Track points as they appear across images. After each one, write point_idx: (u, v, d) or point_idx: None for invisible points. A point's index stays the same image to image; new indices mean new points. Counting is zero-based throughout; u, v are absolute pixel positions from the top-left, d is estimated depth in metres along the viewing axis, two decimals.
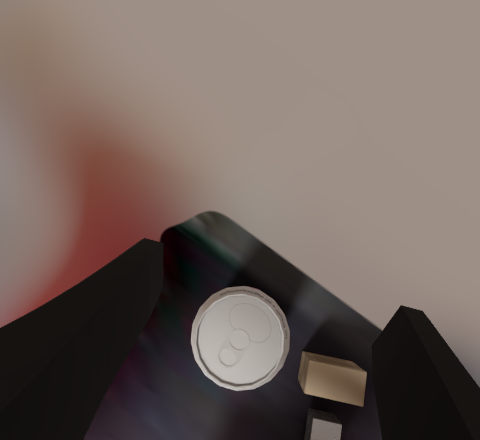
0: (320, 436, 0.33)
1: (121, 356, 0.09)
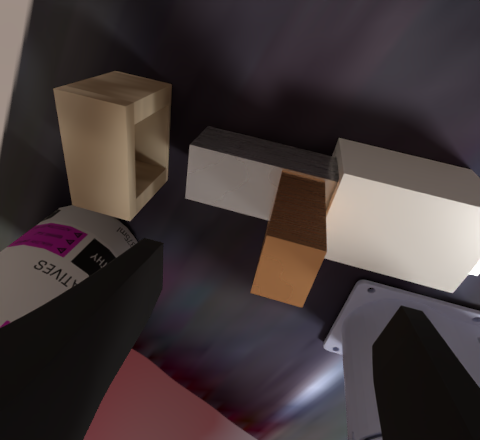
0: (215, 189, 0.16)
1: (121, 356, 0.09)
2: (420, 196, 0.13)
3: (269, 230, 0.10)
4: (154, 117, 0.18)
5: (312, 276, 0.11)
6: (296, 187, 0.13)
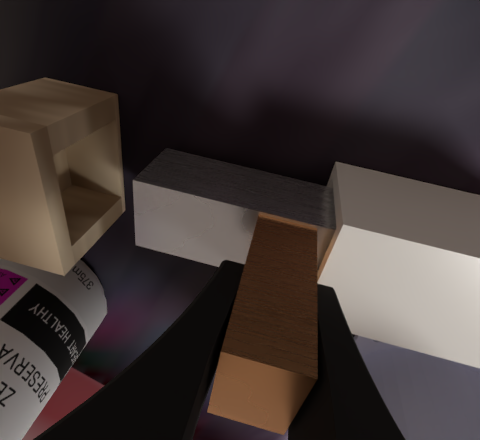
0: (172, 235, 0.12)
1: (210, 382, 0.08)
2: (452, 256, 0.09)
3: (226, 339, 0.07)
4: (99, 136, 0.14)
5: (296, 404, 0.07)
6: (276, 244, 0.09)
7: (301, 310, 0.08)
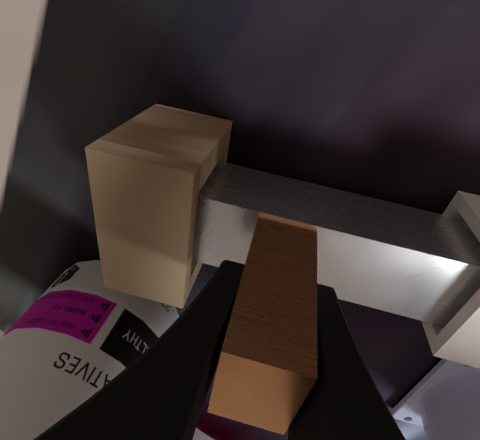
0: None
1: (210, 382, 0.08)
2: None
3: (226, 339, 0.07)
4: None
5: (296, 404, 0.07)
6: (276, 245, 0.09)
7: (301, 310, 0.08)
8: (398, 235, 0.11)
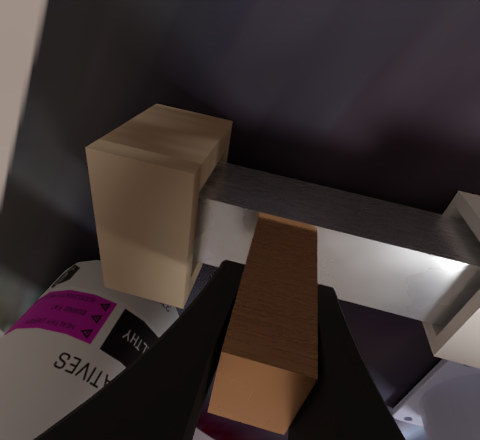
0: None
1: (210, 382, 0.08)
2: None
3: (227, 339, 0.07)
4: None
5: (296, 404, 0.07)
6: (276, 244, 0.09)
7: (301, 310, 0.08)
8: (398, 235, 0.11)
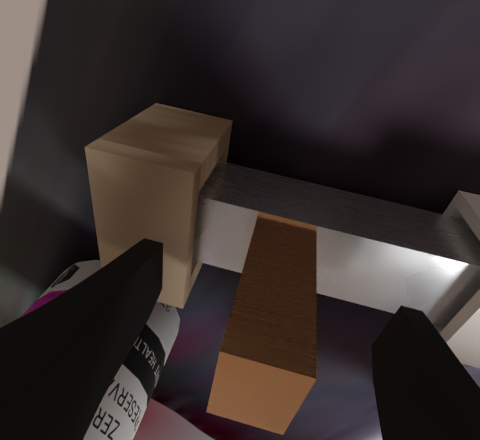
0: None
1: (121, 356, 0.09)
2: None
3: (225, 339, 0.07)
4: None
5: (295, 404, 0.07)
6: (276, 244, 0.09)
7: (300, 310, 0.08)
8: (398, 234, 0.11)
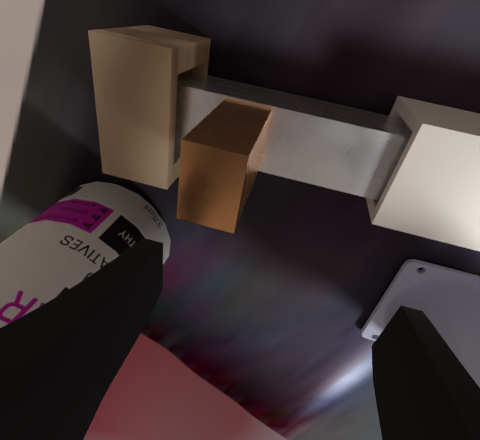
0: None
1: (121, 356, 0.09)
2: None
3: (186, 136, 0.09)
4: None
5: (238, 191, 0.10)
6: (236, 110, 0.12)
7: (246, 134, 0.10)
8: (339, 117, 0.13)
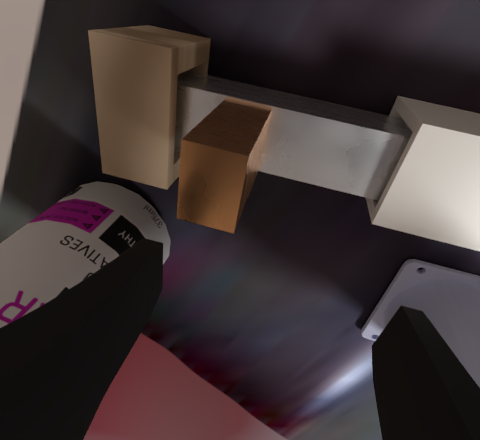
0: None
1: (121, 356, 0.09)
2: None
3: (186, 136, 0.09)
4: None
5: (238, 191, 0.10)
6: (236, 110, 0.12)
7: (246, 134, 0.10)
8: (339, 117, 0.13)
